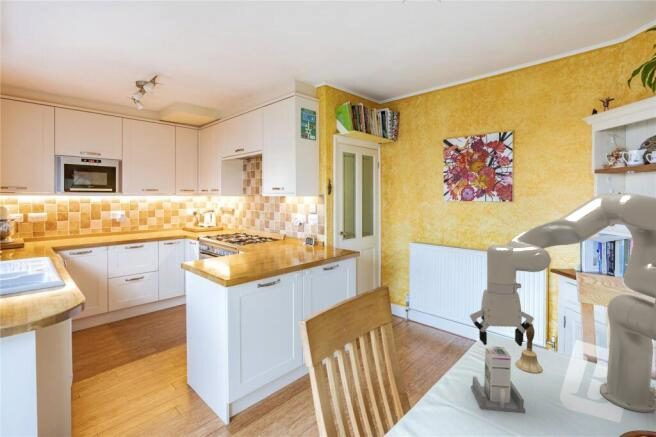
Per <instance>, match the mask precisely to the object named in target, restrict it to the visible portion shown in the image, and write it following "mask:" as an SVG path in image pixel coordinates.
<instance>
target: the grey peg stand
mask: <svg viewBox="0 0 656 437" xmlns="http://www.w3.org/2000/svg"><path fill="white" fill-rule="evenodd" d="M470 389H471V392H472V393H473V396H474V399H475V400H476V403H477V405H478V406H479V408H480V410H488V411H497V412H498V411H499V412H506V413H507V412H510V413H520V414H526V409H525V407H524V406H525V405H524V403H525V400H524V398H523V397H522V395H521V393H520V392H519V390H518V389H517V388H516V385H514V383H513V382H512V380H511V379H510V403H505V390H504V389H500V402H492V401H490V400H489V398H488V396H487V394H486V392H485V390H484V385H482V384H481V383H480V381H479V379H478V377H477V376H472V384H471V385H470Z"/></svg>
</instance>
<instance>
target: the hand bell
mask: <svg viewBox="0 0 656 437" xmlns="http://www.w3.org/2000/svg"><path fill="white" fill-rule="evenodd" d="M525 335H526V342H527V343H526V348H525V349H523V350H522V351H521V355H520V358H519V359H518V360H516V361H515V366H516V367H517V368H518V369H519V370H522V371H524V372H527V373H530V374H540V373H542V372H543V367H542V365H540V363H539V362H538V358H537V353H536V352H535V351H533V340H534V338H535V335H536V334H535V328H534V325H533V322H532V323H531V324H530V327H529V328H528V329H527V330H525Z"/></svg>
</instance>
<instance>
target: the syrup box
mask: <svg viewBox="0 0 656 437" xmlns="http://www.w3.org/2000/svg"><path fill="white" fill-rule="evenodd" d="M484 349H485V351H484V385H483V386H484V390H485V392H486V394H487V396H488V398H489V400H490V401H492V402H500V389H504V390H505V403H510V380H511V376H512V375H511V373H512V372H511V371H512V370H511V368H512V366H511V364H512V357H511V355H510V354H509V352H508V351H507V349H505V347H501V346H485V348H484Z"/></svg>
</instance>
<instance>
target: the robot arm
mask: <svg viewBox="0 0 656 437" xmlns="http://www.w3.org/2000/svg"><path fill="white" fill-rule="evenodd" d="M612 225H622V226H625V227H626V228H627V230H628V231H629V233H630V235H631V238H632V247H631V252H630V256H629V258H628V261H627V265H626V268H625V271H624V275H623V282H624V285H625V286H626V287H627V288H628V289H630V290H631V291H633V292H636V293H639V294H641V295H645V296H646V297H650V298H653V299H655V300H654V302H653V301H650V300H647V299H644V298H641V297H638V296H635V295H631V294H619V295H616V296H614V297H613V298H611V299H610V301H609V302H608V304H607V309H606V310H607V318H608V323H609V345H608V346H609V347H608V356H607V357H608V360H607V371H606V373H607V374H606V382H604V383H602V384H600V385H599V393H600V394H601V395H602V396H603V397H604V399H607V400H608V401H609V402H611V403H613V404H615V405H617V406H618V407H622V408H624V409H627V410H631V411H635V412H638V413H639V412H640V413H652V412H654V411H656V410H655V409H656V401H655V400H656V387H654V386H651V383H652V382H651V380H652V370H653V359H654V358H653V356H654V342H653V341H655V342H656V197H653V196H648V195H643V194H636V193H635V194H634V193H602V194H601V193H600V194H598V195H596V196H594V197H592V198H591V199H589V200H587V201H586V202H584V203H583V204H581V205H579V206H577V207H576V208H575V209H573V210H572V211H570V212H568V213H567V214H565V215H564V216H562V217H559V218H557V219H554V220H551V221H548V222H546V223H543V224H540V225H537V226H535V227H532V228H529V229H527V230H525V231H524V232H521V233H520V234H518V235H517V236H515V237H513V238H512V239H511V240H509V241H508V242H507V243H506V244H494V245H489V246H488V247H487V250H486V251H487V252H486V258H487V259H486V263H487V264H486V266H487V267H486V289H484V290H483V293H482V297H481V308H480V310H477V311H476V312H474V313H471V314H469V318H470V319H471V321H472V323H473V325H474V326H475V327H476V328H477V329H479V330H478V331H479V333H478V334H479V335H478V336H479V340H480V342H481V343H482V344H483V345H484V346H487V345H488V333H487V329H488V328H489V327H504V328H505V327H506V328H507V327H509V328H510V327H512V328H513V327H516V328H515V330H514V341H515V344H517V345H518V347H522V346H523V343H524V334H526V330H527V329H528V328H529V327H530V324H531V323H532V324H533V321H534V319H535V318H534V316H532V315H530V314H529V313H526V312H524V311H522V305H521V299H520V295H519V292H518V289H521V288H522V284H521V283H518V282H517V272H518V271H519V272H528V273H539V272H542V271H544V270H546V269H547V268H549V266H550V264H551V260H552V259H551V256H550V254H549V252H548V250H546V249H547V248H550V247H555V246H558V247H559V246H569V245H575V244H580V243H583V242H585V241H587V240H588V239H590V238H591V237H593V236H595V235H596V234H597V233H600V232H601V231H602V230H605V229H606V228H608V227H609V226H612ZM479 318H480V319H481V321H480V322H479V321H478V319H479ZM522 318H524V319H525V321H523V322H522Z"/></svg>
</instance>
